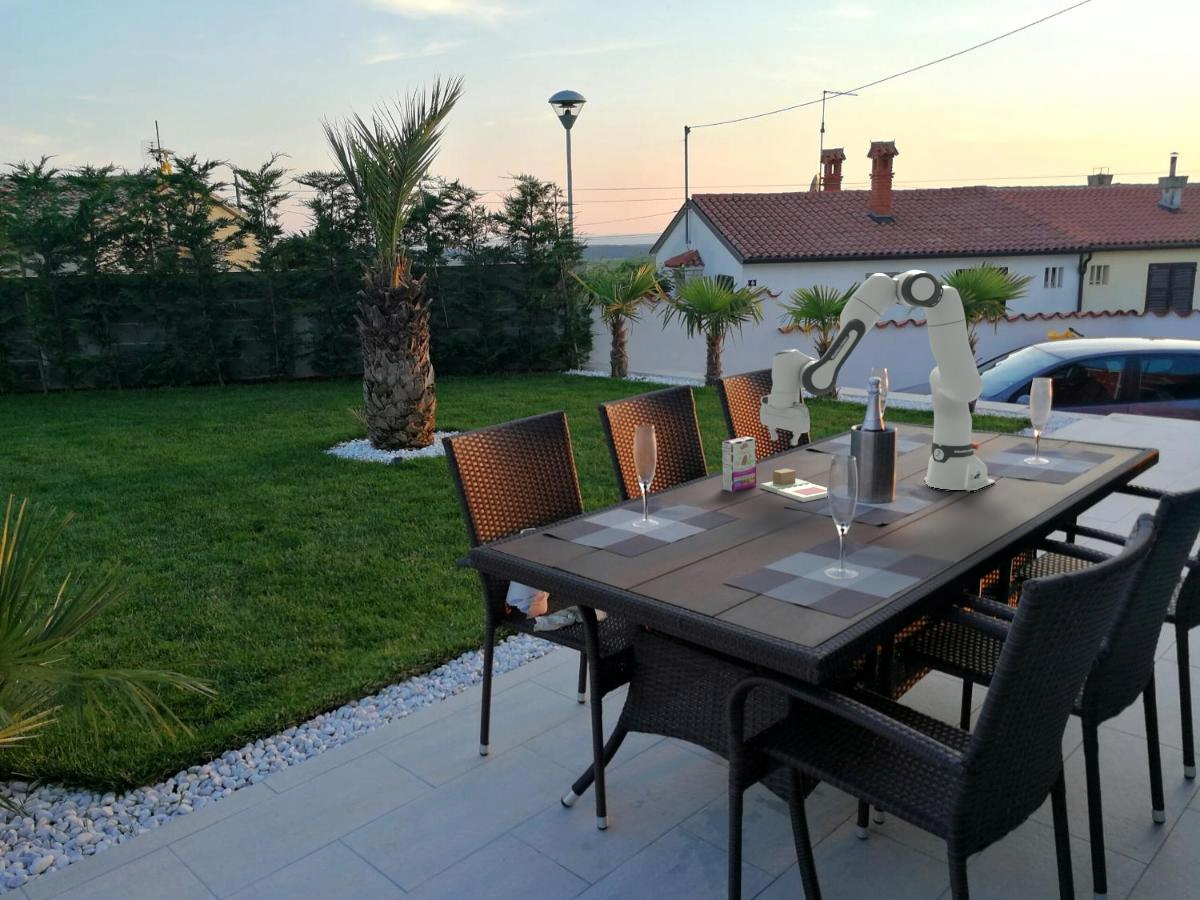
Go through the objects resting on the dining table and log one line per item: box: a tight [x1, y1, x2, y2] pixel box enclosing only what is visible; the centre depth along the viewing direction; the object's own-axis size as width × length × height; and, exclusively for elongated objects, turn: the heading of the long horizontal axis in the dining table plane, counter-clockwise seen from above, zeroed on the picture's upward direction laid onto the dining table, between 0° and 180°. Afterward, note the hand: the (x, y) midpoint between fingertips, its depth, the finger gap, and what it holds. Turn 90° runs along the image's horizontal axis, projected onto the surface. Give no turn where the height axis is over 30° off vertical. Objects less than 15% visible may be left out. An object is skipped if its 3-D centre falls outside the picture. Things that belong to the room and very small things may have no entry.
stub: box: [759, 468, 811, 494], centre depth 273 cm, size 14×8×6 cm, turn 119°
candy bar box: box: [721, 436, 757, 493], centre depth 274 cm, size 11×5×16 cm, turn 126°
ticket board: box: [776, 482, 828, 503], centre depth 265 cm, size 14×12×2 cm
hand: (783, 442), depth 271 cm, fingers open, 8 cm apart
